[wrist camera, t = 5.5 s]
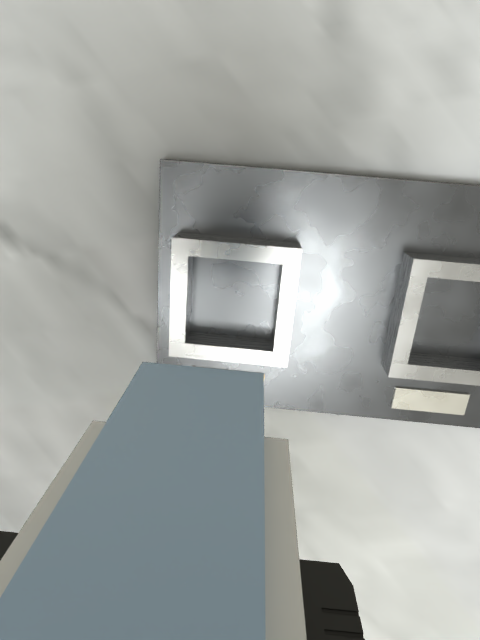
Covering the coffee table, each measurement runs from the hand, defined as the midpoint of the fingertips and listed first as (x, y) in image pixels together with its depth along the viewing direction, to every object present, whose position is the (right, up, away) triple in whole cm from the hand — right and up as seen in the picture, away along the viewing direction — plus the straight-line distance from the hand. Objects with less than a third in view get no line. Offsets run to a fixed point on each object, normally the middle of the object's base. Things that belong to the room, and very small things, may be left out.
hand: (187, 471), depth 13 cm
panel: (+8, +6, +17) cm, 20 cm away
